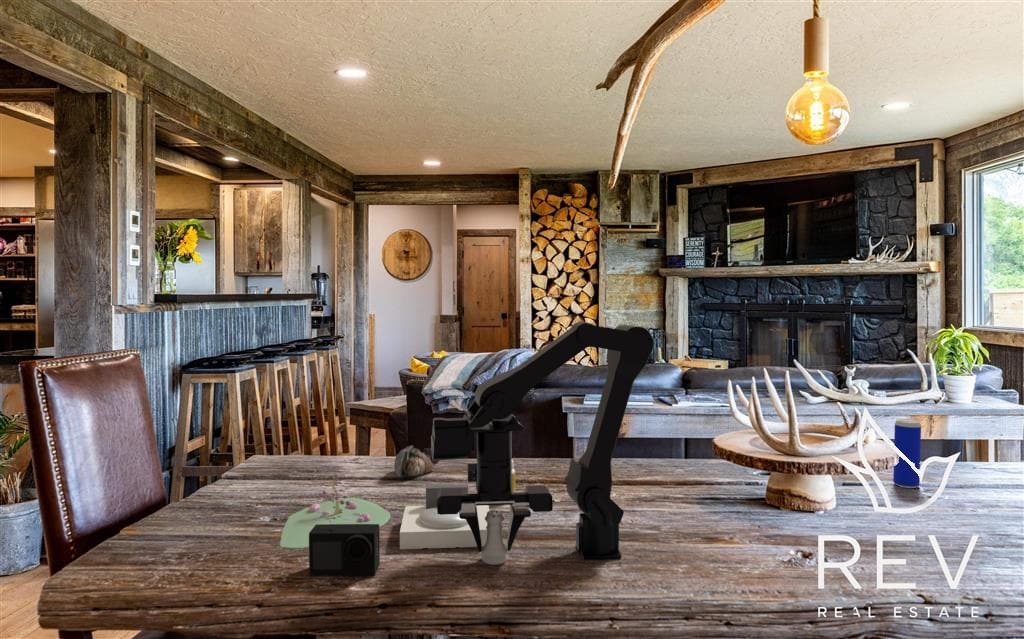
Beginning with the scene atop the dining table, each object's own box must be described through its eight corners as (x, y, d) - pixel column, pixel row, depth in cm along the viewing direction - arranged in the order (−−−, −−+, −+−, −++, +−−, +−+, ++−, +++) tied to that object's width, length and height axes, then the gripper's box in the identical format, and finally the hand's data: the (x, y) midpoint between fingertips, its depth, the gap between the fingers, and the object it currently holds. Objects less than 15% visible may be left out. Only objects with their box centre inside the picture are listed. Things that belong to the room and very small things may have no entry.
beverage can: (919, 485, 155) (921, 420, 154) (919, 490, 151) (920, 423, 150) (893, 481, 158) (895, 417, 157) (892, 487, 153) (894, 421, 153)
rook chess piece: (493, 552, 115) (493, 506, 115) (513, 559, 113) (513, 512, 112) (475, 561, 112) (475, 513, 112) (495, 568, 109) (495, 519, 109)
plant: (365, 553, 116) (364, 502, 116) (249, 550, 118) (248, 499, 118) (400, 507, 141) (400, 464, 141) (304, 504, 143) (304, 462, 142)
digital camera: (306, 580, 105) (305, 535, 104) (315, 565, 110) (315, 523, 110) (373, 579, 105) (373, 535, 105) (379, 565, 110) (379, 523, 110)
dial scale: (488, 519, 132) (488, 483, 132) (492, 546, 118) (492, 506, 118) (405, 521, 131) (405, 485, 130) (399, 549, 117) (399, 509, 116)
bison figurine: (392, 482, 158) (435, 480, 158) (391, 452, 158) (434, 450, 157) (402, 469, 170) (442, 467, 170) (400, 441, 170) (440, 440, 169)
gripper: (544, 445, 120) (543, 531, 121) (438, 447, 119) (438, 534, 119) (553, 461, 109) (552, 556, 110) (436, 463, 108) (437, 560, 108)
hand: (494, 550), depth 112 cm, fingers closed on rook chess piece, 4 cm apart
